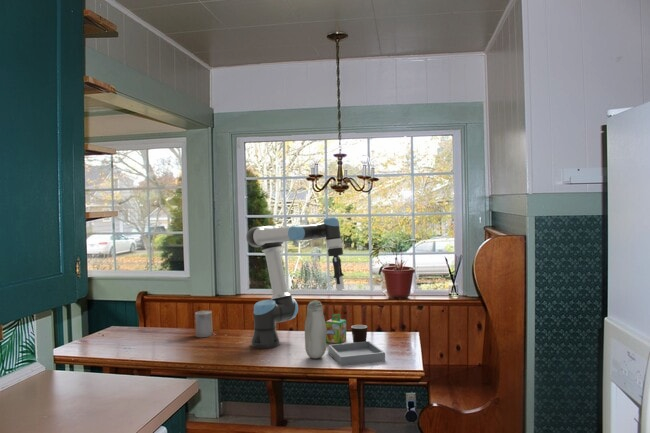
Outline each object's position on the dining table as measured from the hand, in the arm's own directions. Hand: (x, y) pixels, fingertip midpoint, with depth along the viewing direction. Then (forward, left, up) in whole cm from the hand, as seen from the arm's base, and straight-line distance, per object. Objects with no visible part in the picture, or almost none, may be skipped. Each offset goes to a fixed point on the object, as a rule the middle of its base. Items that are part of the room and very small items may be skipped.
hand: (340, 290), depth 264 cm
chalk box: (-24, +4, -32) cm, 40 cm away
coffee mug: (-13, +14, -32) cm, 37 cm away
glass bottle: (+2, -14, -32) cm, 35 cm away
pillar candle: (-63, -65, -32) cm, 96 cm away
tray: (+7, +5, -32) cm, 33 cm away
